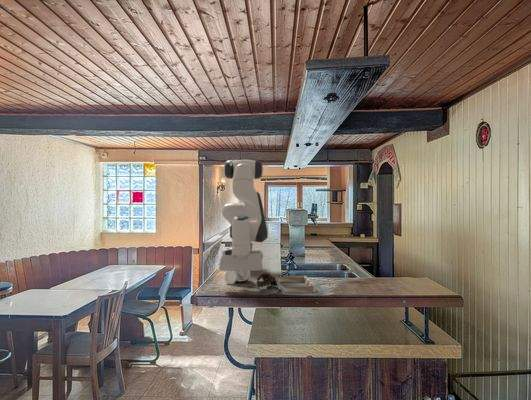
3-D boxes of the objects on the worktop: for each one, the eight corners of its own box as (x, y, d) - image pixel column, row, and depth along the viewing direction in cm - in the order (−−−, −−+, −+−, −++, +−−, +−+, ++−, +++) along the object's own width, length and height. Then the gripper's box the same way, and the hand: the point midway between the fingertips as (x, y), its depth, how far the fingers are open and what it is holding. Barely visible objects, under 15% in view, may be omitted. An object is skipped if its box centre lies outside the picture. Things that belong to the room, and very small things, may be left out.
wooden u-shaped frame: (277, 281, 176) (277, 275, 176) (305, 281, 178) (306, 275, 178) (283, 292, 156) (283, 285, 156) (315, 291, 158) (316, 284, 158)
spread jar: (251, 280, 179) (251, 257, 179) (247, 285, 168) (247, 261, 168) (227, 279, 180) (228, 256, 180) (223, 284, 169) (223, 260, 169)
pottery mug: (281, 291, 160) (274, 277, 158) (263, 300, 160) (255, 286, 157) (275, 278, 172) (269, 265, 169) (258, 287, 171) (251, 274, 168)
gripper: (262, 249, 168) (262, 278, 168) (219, 249, 165) (219, 278, 165) (263, 251, 161) (263, 281, 161) (219, 251, 159) (218, 282, 159)
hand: (240, 280), depth 163 cm, fingers closed
